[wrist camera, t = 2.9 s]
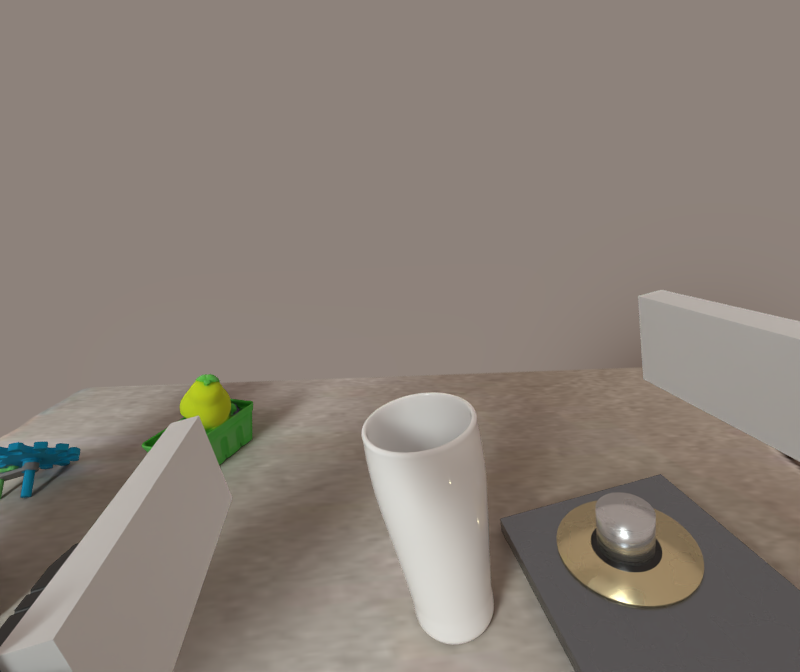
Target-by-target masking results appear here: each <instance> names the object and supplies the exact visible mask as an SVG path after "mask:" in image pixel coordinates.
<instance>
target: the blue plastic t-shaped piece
mask: <svg viewBox="0 0 800 672" xmlns="http://www.w3.org/2000/svg"><path fill="white" fill-rule="evenodd" d="M47 446H48V442H35V443H34V447H31V446H26V445H24V444H23V443H19V442H18V443H12V444H9V447H8V448H4V447H0V499H1V495H2V490H3V484H4V481H7V480H10V479H13V478H17V477H20V476H24V479H23V484H22V490H21V496H20V497H21V498H27V497H31V494H32V488H33V482H34V475H35V472H37V471H38V470H39V468H40V469H49V468H53V465H60V466H65V465H68V464H70V461H78V460H79V455H80V449H79V448H77V447H71V448H69V444H63V443H59V444H56V448H48V447H47ZM68 448H69V449H68Z"/></svg>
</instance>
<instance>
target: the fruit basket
mask: <svg viewBox="0 0 800 672" xmlns="http://www.w3.org/2000/svg"><path fill="white" fill-rule="evenodd" d="M252 410H253V402H252V401H244V400H237V399H230V397H229V395H228V393H227V391H226V390H225V389H224V388H223V387H222V385H221V384H220V383H219V379H218V378H217V377H216V376H214V375H211V374H209V375H201V376H200V377H198V378H197V379H196V382H195V383H194V384H193V385H192V386H191V387H190V389H189V390H188V391H187V393H186V394H185V395H184V397H183V398H182V400H181V402H180V413H181V415H182V416H184V418H182V419H181V420H184V419H188V418H191V417H195V416H199V417H200V420H201V422H202V425H203V427H204V429H205V432H206V434H207V437H208V439H209V442H210V444H211V446H212V449H213V451H214V454H215V456H216V459H217V461H218V464H219V465H220V464H221V463H223V462H224V461H225V460H226V458H228V457H230V456H231V455H233V454H234V453H235V452H237V451H238V450H239V449H240V448H241V447H242V446H244V445H245V444H247V443H248V442H249V441H250V440H252ZM179 421H180V420H179ZM166 429H167V428H166ZM166 429H165V430H166ZM165 430H163V431H161V432H160V433H158V434H157V435H155V436H153V437H152V438H150V439H148V440H147V441H145V442H144V443H143V444H142V447H143V448H144V449H145V450H146V451H147V452H149V451H150V450H151V448H152V447H153V446H154V444H155V443H156V442H157V441H158V439H159V438H160V437H161V435H162V434H163V433H164V431H165Z"/></svg>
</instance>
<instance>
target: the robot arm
mask: <svg viewBox="0 0 800 672" xmlns="http://www.w3.org/2000/svg"><path fill="white" fill-rule="evenodd" d="M638 304H639V318H640V319H639V320H640V333H641V350H642V365H643V379H644V380H646V381H648V382H650V383H652V384H654V385H656V386H657V387H659V388H661V389H663V390H665V391H667V392H669V393H671V394H673V395H674V396H676V397H678V398H680V399H682V400H684V401H686V402H688V403H690V404H692V405H693V406H695V407H697V408H699V409H701V410H703V411H705V412H707V413H709V414H710V415H712V416H714V417H716V418H718V419H720V420H722V421H724V422H726V423H727V424H729V425H731V426H733V427H735V428H737V429H739V430H741V431H743V432H745V433H746V434H748V435H750V436H752V437H754V438H756V439H758V440H760V441H762V442H763V443H765V444H767V445H769V446H771V447H773V448H775V449H777V450H779V451H781V452H782V453H784V454H786V455H788V456H790V457H792V458H794V459H796V460H798V461H799V462H800V322H799V321H795V320H791V319H786V318H782V317H777V316H773V315H769V314H765V313H761V312H756V311H752V310H747V309H743V308H738V307H734V306H730V305H725V304H721V303H717V302H713V301H708V300H704V299H700V298H695V297H691V296H686V295H682V294H677V293H673V292H669V291H665V290H659V291H655V292H651V293H648V294H644V295H641V296H638ZM231 501H232V495H231V493H230V490H229V488H228V486H227V483H226V481H225V478H224V476H223V473H222V471H221V468H220V466H219V464H218V461H217V459H216V456H215V454H214V451H213V449H212V446H211V444H210V442H209V439H208V437H207V434H206V432H205V429H204V427H203V425H202V422H201V420H200V417H199V416H195V417H191V418H188V419H184V420H180V421H177V422H173V423H170V425H169V426H168V427H167V429H166V430H165V431H164V433H163V434H162V435H161V437H160V438H159V439H158V441H157V442H156V443H155V444H154V446H153V447H152V448H151V450H150V451H149V452H148V454H147V455H146V456H145V458H144V459H143V460H142V462H141V463H140V464H139V465H138V467H137V468H136V469H135V471H134V472H133V473H132V475H131V476H130V477H129V479H128V480H127V481H126V483H125V484H124V485H123V486H122V488H121V489H120V490H119V492H118V493H117V494H116V496H115V497H114V498H113V500H112V501H111V502H110V504H109V505H108V506H107V507H106V509H105V510H104V511H103V513H102V514H101V515H100V517H99V518H98V519H97V521H96V522H95V523H94V525H93V526H92V527H91V528H90V530H89V531H88V532H87V534H86V535H85V536H84V538H83V539H82V540H81V542H80V543H78V544H75V545H74V546H73V547H71V548H70V549H69V550H68V551H67V552H66V553H64V554H63V555H62V556H61V557H60V558H59V559H58V560H56V561H55V562H54V563H53V564H52V565H51V566H49V568H48V569H47V570H46V571H45V573H44V574H43V575H42V576H41V578H40V579H39V580H38V581H37V583H36V584H35V585H34V586H33V588H32V589H31V590H30V591H31V594H29V595H26V596H25V598H24V599H23V600H22V602H21V603H20V604H19V605H18V607H17V608H16V609H15V610H14V611H15V614H14V615H11V616H10V617H9V618H8V619H7V620H6V622H5V623H4V624H3V625H2V627H1V628H0V672H173V670H174V667H175V664H176V661H177V658H178V655H179V652H180V649H181V646H182V643H183V641H184V638H185V635H186V632H187V629H188V626H189V623H190V620H191V617H192V614H193V611H194V609H195V606H196V603H197V600H198V597H199V594H200V591H201V588H202V585H203V582H204V579H205V577H206V574H207V571H208V568H209V565H210V562H211V559H212V556H213V553H214V550H215V547H216V545H217V542H218V539H219V536H220V533H221V530H222V527H223V524H224V521H225V518H226V515H227V513H228V510H229V507H230V504H231Z"/></svg>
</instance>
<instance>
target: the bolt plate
mask: <svg viewBox="0 0 800 672" xmlns="http://www.w3.org/2000/svg"><path fill="white" fill-rule="evenodd" d="M500 521H501V529H502V532H503V534H504V536H505V538H506V540H507V541H508V543H509V545H510V547H511V549H512V551H513V553H514V555H515V557H516V559H517V561H518V563H519V564H520V566H521V568H522V570H523V572H524V574H525V576H526V578H527V580H528V582H529V584H530V586H531V587H532V589H533V591H534V593H535V595H536V597H537V599H538V601H539V603H540V605H541V607H542V608H543V610H544V612H545V614H546V616H547V618H548V620H549V622H550V624H551V626H552V628H553V630H554V631H555V633H556V635H557V637H558V639H559V641H560V643H561V645H562V647H563V649H564V651H565V653H566V654H567V656H568V658H569V660H570V662H571V664H572V666H573V668H574V670H575V672H800V590H798V589H797V588H796V587H795V586H794V585H792V584H791V583H790V582H789V581H788V580H787V579H785V578H784V577H783V576H782V575H781V574H779V573H778V572H777V571H776V570H775V569H773V568H772V567H771V566H770V565H769V564H767V563H766V562H765V561H764V560H763V559H761V558H760V557H759V556H758V555H757V554H755V553H754V552H753V551H752V550H751V549H749V548H748V547H747V546H746V545H745V544H743V543H742V542H741V541H740V540H739V539H738V538H736V537H735V536H734V535H733V534H732V533H730V532H729V531H728V530H727V529H726V528H724V527H723V526H722V525H721V524H720V523H718V522H717V521H716V520H715V519H714V518H712V517H711V516H710V515H709V514H708V513H706V512H705V511H704V510H703V509H702V508H700V507H699V506H698V505H697V504H696V503H695V502H693V501H692V500H691V499H690V498H689V497H687V496H686V495H685V494H684V493H683V492H681V491H680V490H679V489H678V488H677V487H675V486H674V485H673V484H672V483H671V482H669V481H668V480H667V479H666V478H665V477H663V476H662V475H661V474H660V475H656V476H653V477H649V478H646V479H642V480H638V481H635V482H631V483H628V484H624V485H620V486H617V487H613V488H609V489H606V490H602V491H599V492H595V493H591V494H588V495H584V496H581V497H577V498H573V499H570V500H566V501H563V502H559V503H555V504H552V505H548V506H545V507H541V508H537V509H534V510H530V511H526V512H523V513H519V514H516V515H512V516H508V517H505V518H501V519H500Z"/></svg>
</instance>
